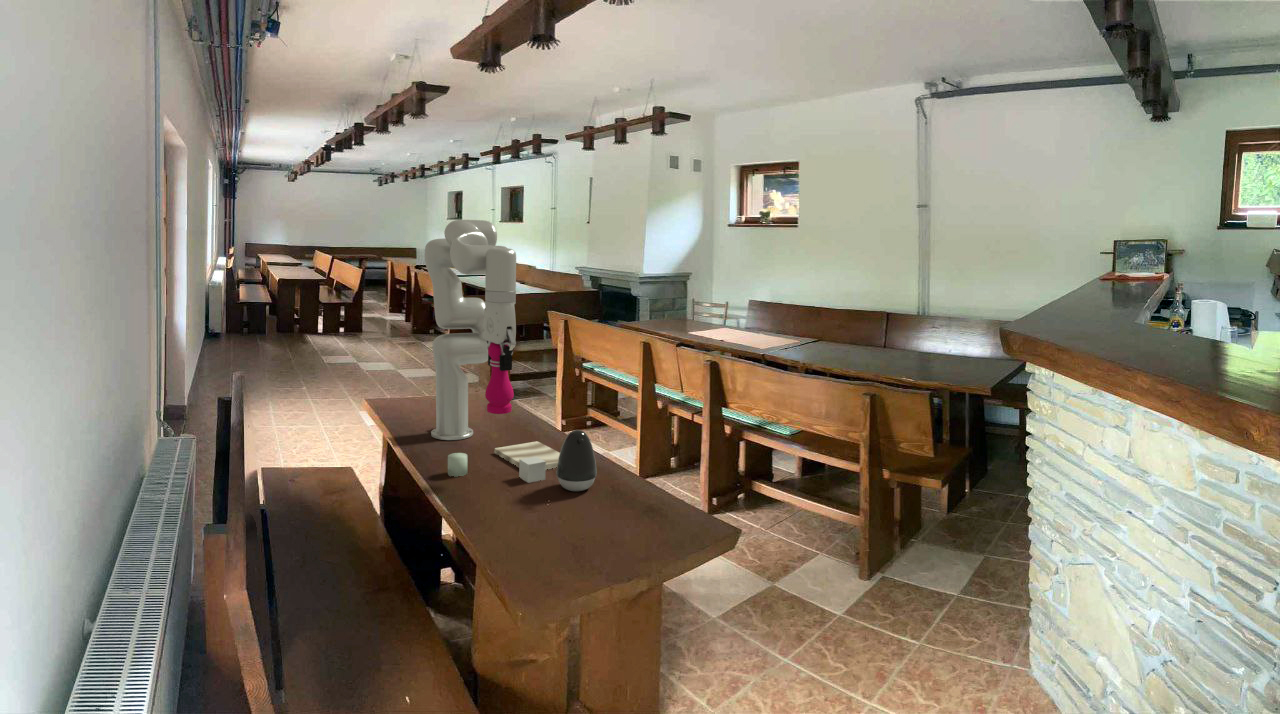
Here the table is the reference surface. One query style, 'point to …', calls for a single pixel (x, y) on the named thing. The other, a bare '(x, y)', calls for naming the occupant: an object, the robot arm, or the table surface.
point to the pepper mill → (498, 384)
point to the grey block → (532, 469)
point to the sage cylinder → (457, 464)
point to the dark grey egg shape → (576, 462)
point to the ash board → (529, 453)
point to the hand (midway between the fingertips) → (499, 367)
